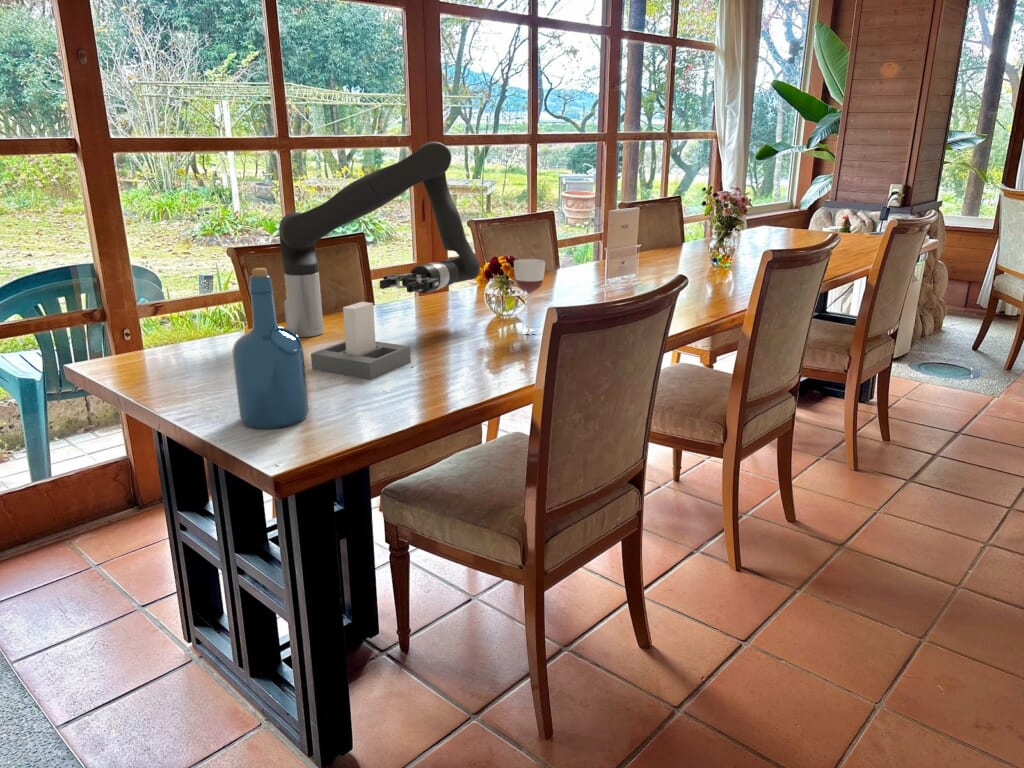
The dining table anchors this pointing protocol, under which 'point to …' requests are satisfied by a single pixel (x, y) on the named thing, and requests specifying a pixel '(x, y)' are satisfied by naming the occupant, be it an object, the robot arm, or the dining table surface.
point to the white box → (359, 328)
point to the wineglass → (529, 279)
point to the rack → (361, 360)
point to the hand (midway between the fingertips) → (394, 286)
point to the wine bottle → (269, 365)
